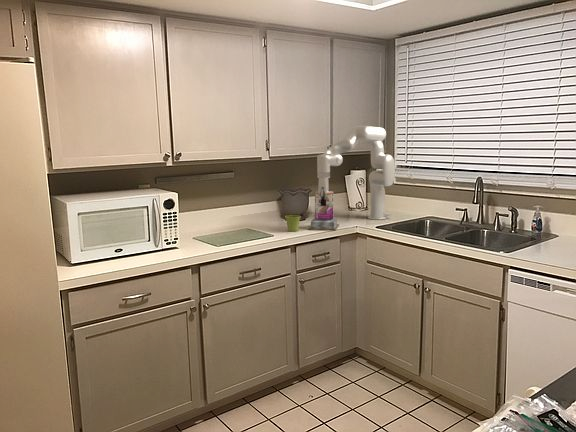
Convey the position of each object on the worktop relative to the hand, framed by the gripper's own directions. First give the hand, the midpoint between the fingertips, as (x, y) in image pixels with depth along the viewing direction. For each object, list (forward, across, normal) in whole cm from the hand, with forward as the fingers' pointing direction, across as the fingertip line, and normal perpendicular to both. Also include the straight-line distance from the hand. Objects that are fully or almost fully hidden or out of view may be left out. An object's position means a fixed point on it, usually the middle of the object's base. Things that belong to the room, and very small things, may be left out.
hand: (324, 204), depth 294 cm
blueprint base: (+14, 0, 0) cm, 14 cm away
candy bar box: (+9, 0, 0) cm, 9 cm away
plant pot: (+14, +11, -17) cm, 25 cm away
